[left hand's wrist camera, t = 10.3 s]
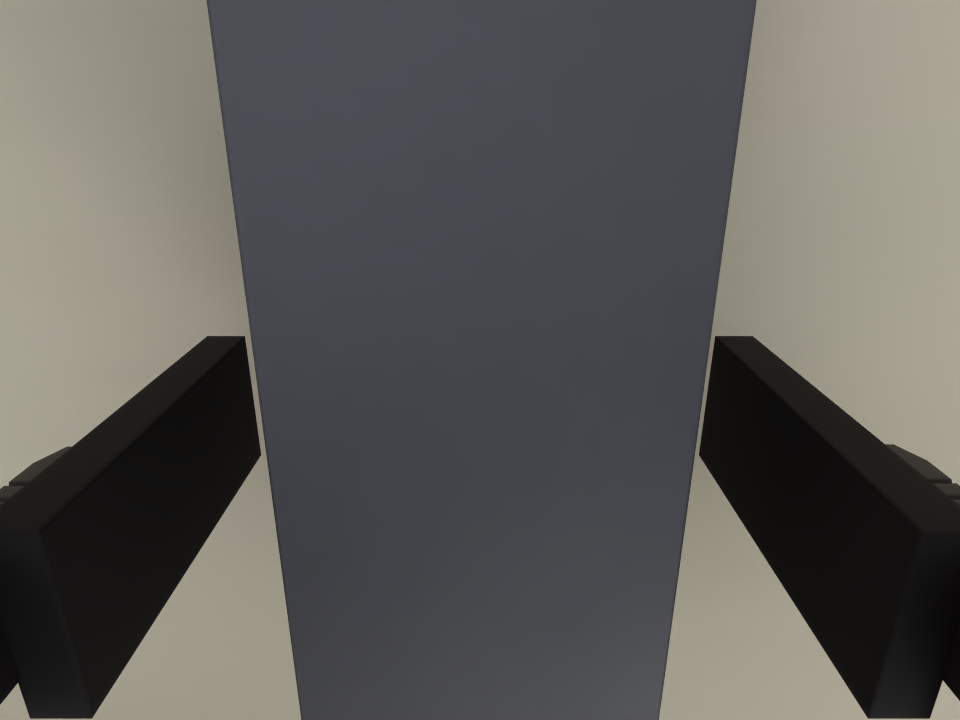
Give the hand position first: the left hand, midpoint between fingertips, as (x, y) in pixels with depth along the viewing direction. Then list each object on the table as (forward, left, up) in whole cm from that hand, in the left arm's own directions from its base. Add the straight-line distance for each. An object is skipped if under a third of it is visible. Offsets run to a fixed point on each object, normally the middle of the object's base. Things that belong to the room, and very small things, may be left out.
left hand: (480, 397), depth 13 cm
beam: (+26, +5, -3) cm, 26 cm away
